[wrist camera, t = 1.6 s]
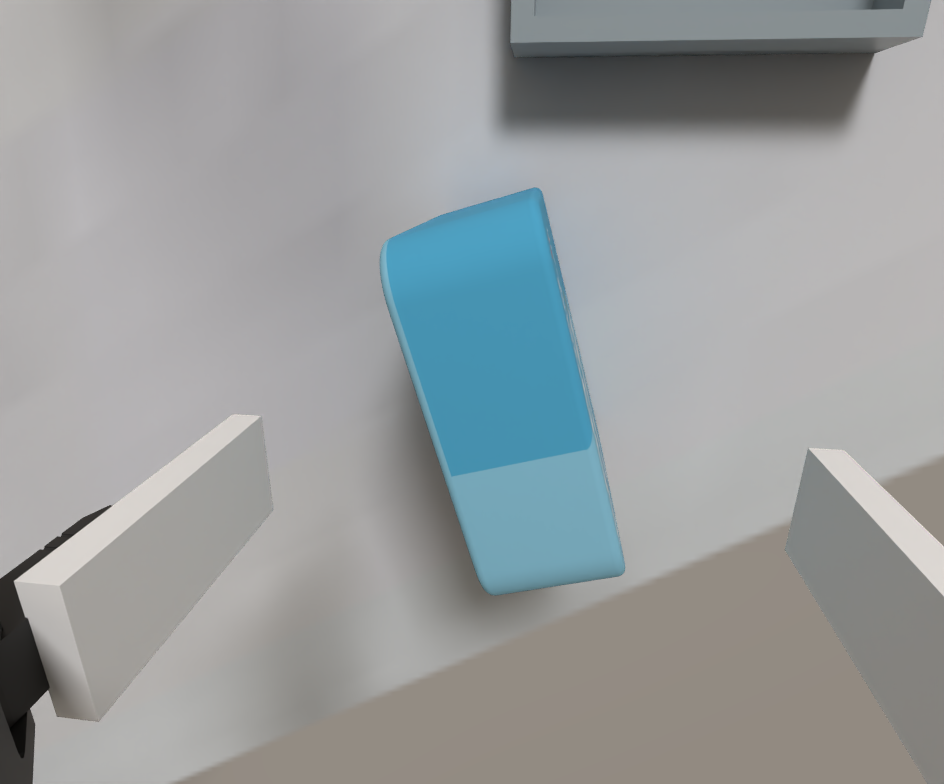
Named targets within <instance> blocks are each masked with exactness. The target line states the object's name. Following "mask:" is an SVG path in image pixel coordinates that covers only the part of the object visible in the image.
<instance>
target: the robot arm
mask: <svg viewBox="0 0 944 784" xmlns="http://www.w3.org/2000/svg"><path fill="white" fill-rule="evenodd" d="M272 511H273V503H272V495H271V487H270V479H269V471H268V463H267V456H266V448H265V440H264V432H263V424H262V416H255V415H238V414H233V415H231V416H230V417H229V418H227V419H226V420H225V421H223V422H222V423H221V424H219V425H218V426H217V427H215V428H214V429H213V430H212V431H210V432H209V433H208V434H206V435H205V436H204V437H202V438H201V439H200V440H198V441H197V442H196V443H194V444H193V445H192V446H191V447H189V448H188V449H187V450H185V451H184V452H183V453H181V454H180V455H179V456H177V457H176V458H175V459H173V460H172V461H171V462H170V463H168V464H167V465H166V466H164V467H163V468H162V469H160V470H159V471H158V472H156V473H155V474H154V475H152V476H151V477H150V478H149V479H147V480H146V481H145V482H143V483H142V484H141V485H139V486H138V487H137V488H135V489H134V490H133V491H131V492H130V493H129V494H128V495H126V496H125V497H124V498H122V499H121V500H120V501H118V502H117V503H116V504H114V505H113V506H111V505H109V506H107V507H105V508H103V509H101V510H99V511H97V512H94V513H92V514H90V515H88V516H86V517H84V518H82V519H81V520H79V521H78V522H77V523H75V524H74V525H72V526H71V527H70V528H68V529H67V530H66V531H64V532H63V533H62V536H61V537H56V538H55V539H54V540H52V541H51V542H49V543H48V544H47V545H45V546H44V547H45V548H44V550H39V551H37V552H36V553H35V554H33V555H32V556H31V557H29V558H28V559H26V560H25V561H24V562H22V563H21V564H20V565H18V566H17V567H16V568H14V569H13V570H12V571H10V572H9V573H8V574H6V575H5V576H3V577H2V578H1V579H0V784H33V762H34V740H35V722H34V719H33V716H32V713H31V710H30V708H31V707H32V706H33V705H34V704H35V703H36V702H37V701H38V700H39V699H40V697H41V696H42V695H43V694H44V693H45V692H46V691H47V690H49V693H50V696H51V700H52V703H53V706H54V709H55V712H56V715H57V717H65V718H72V719H80V720H88V721H96V722H99V721H100V720H101V719H102V717H103V716H104V715H105V714H106V712H107V711H108V710H109V709H110V708H111V706H112V705H113V704H114V703H115V702H116V700H117V699H118V698H119V697H120V695H121V694H122V693H123V692H124V691H125V689H126V688H127V687H128V686H129V685H130V683H131V682H132V681H133V680H134V679H135V677H136V676H137V675H138V674H139V672H140V671H141V670H142V669H143V668H144V666H145V665H146V664H147V663H148V662H149V660H150V659H151V658H152V657H153V655H154V654H155V653H156V652H157V651H158V649H159V648H160V647H161V646H162V645H163V643H164V642H165V641H166V640H167V638H168V637H169V636H170V635H171V634H172V632H173V631H174V630H175V629H176V628H177V626H178V625H179V624H180V623H181V621H182V620H183V619H184V618H185V617H186V615H187V614H188V613H189V612H190V611H191V609H192V608H193V607H194V606H195V604H196V603H197V602H198V601H199V600H200V598H201V597H202V596H203V595H204V594H205V592H206V591H207V590H208V589H209V587H210V586H211V585H212V584H213V583H214V581H215V580H216V579H217V578H218V577H219V575H220V574H221V573H222V572H223V571H224V569H225V568H226V567H227V566H228V564H229V563H230V562H231V561H232V560H233V558H234V557H235V556H236V555H237V554H238V552H239V551H240V550H241V549H242V547H243V546H244V545H245V544H246V543H247V541H248V540H249V539H250V538H251V537H252V535H253V534H254V533H255V532H256V530H257V529H258V528H259V527H260V526H261V524H262V523H263V522H264V521H265V520H266V518H267V517H268V516H269V515H270V513H271V512H272ZM785 551H786V552H787V554H788V556H789V557H790V559H791V560H792V562H793V564H794V566H795V567H796V569H797V570H798V572H799V574H800V575H801V577H802V579H803V580H804V582H805V584H806V585H807V587H808V589H809V590H810V592H811V593H812V595H813V597H814V598H815V600H816V602H817V603H818V605H819V607H820V608H821V610H822V612H823V613H824V615H825V617H826V618H827V620H828V621H829V623H830V625H831V626H832V628H833V630H834V631H835V633H836V635H837V636H838V638H839V640H840V641H841V643H842V644H843V646H844V648H845V649H846V651H847V653H848V654H849V656H850V658H851V659H852V661H853V663H854V664H855V666H856V667H857V669H858V671H859V672H860V674H861V676H862V677H863V679H864V681H865V682H866V684H867V685H868V687H869V689H870V690H871V692H872V694H873V695H874V697H875V699H876V700H877V702H878V703H879V705H880V707H881V708H882V710H883V712H884V713H885V715H886V717H887V718H888V720H889V722H890V723H891V725H892V727H893V728H894V730H895V732H896V733H897V735H898V736H899V738H900V740H901V741H902V743H903V745H904V746H905V748H906V750H907V751H908V753H909V755H910V756H911V758H912V759H913V761H914V763H915V764H916V766H917V768H918V769H919V771H920V773H921V774H922V776H923V778H924V779H925V781H926V782H927V784H944V546H943V545H942V544H941V543H939V542H938V541H937V540H936V539H935V538H934V537H933V536H932V535H931V534H930V533H929V532H928V531H927V530H926V529H925V528H924V527H923V526H922V525H921V524H920V523H919V522H918V521H917V520H916V519H914V517H913V516H912V515H911V514H909V513H908V512H907V511H906V510H905V509H904V508H903V507H902V506H901V505H900V504H899V503H898V502H897V501H896V500H895V499H894V498H893V497H892V496H891V495H890V494H889V493H888V492H887V491H886V490H884V489H883V487H882V486H881V485H879V484H878V483H877V482H876V481H875V480H874V479H873V478H872V477H871V476H870V475H869V474H868V473H867V472H866V471H865V470H864V469H863V468H862V467H861V466H860V465H859V464H858V463H857V462H856V461H855V460H854V459H853V458H852V457H850V456H849V455H848V454H847V453H846V452H845V451H844V450H833V449H816V448H808V451H807V455H806V459H805V464H804V468H803V473H802V477H801V481H800V486H799V490H798V495H797V499H796V503H795V508H794V512H793V517H792V521H791V525H790V530H789V534H788V539H787V543H786V548H785Z"/></svg>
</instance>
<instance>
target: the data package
mask: <svg viewBox="0 0 944 784" xmlns="http://www.w3.org/2000/svg"><path fill="white" fill-rule="evenodd" d="M380 275H381V282H382V288H383V292H384V296H385V300H386V304H387V307H388V310H389V313H390V316H391V319H392V322H393V325H394V328H395V331H396V334H397V337H398V340H399V343H400V346H401V349H402V352H403V355H404V358H405V361H406V364H407V367H408V370H409V373H410V376H411V379H412V382H413V385H414V388H415V391H416V394H417V397H418V400H419V403H420V406H421V409H422V412H423V415H424V418H425V421H426V424H427V427H428V430H429V433H430V436H431V439H432V442H433V445H434V448H435V451H436V454H437V457H438V460H439V463H440V466H441V469H442V472H443V475H444V478H445V481H446V484H447V487H448V490H449V493H450V496H451V499H452V502H453V505H454V508H455V511H456V514H457V517H458V520H459V523H460V526H461V529H462V532H463V535H464V538H465V541H466V544H467V547H468V550H469V553H470V556H471V559H472V562H473V565H474V568H475V571H476V574H477V577H478V579H479V582H480V584H481V586H482V587H483V589H484V590H485V591H486V592H487V593H489V594H490V595H502V594H509V593H515V592H521V591H528V590H534V589H541V588H547V587H553V586H560V585H566V584H573V583H579V582H585V581H592V580H598V579H605V578H611V577H617V576H621V575H622V574H623V573H624V571H625V562H624V557H623V552H622V547H621V542H620V537H619V532H618V527H617V522H616V517H615V512H614V508H613V503H612V498H611V493H610V488H609V483H608V478H607V473H606V468H605V463H604V458H603V453H602V448H601V443H600V438H599V434H598V429H597V425H596V420H595V416H594V411H593V407H592V403H591V399H590V394H589V390H588V386H587V381H586V377H585V373H584V369H583V364H582V360H581V356H580V351H579V347H578V343H577V339H576V334H575V330H574V326H573V321H572V317H571V313H570V309H569V304H568V300H567V296H566V291H565V287H564V283H563V279H562V274H561V270H560V266H559V261H558V257H557V253H556V249H555V244H554V240H553V236H552V231H551V227H550V223H549V219H548V214H547V210H546V206H545V202H544V198H543V194H542V191H541V190H540V189H539V188H531V189H528V190H524V191H521V192H518V193H514V194H511V195H508V196H504V197H501V198H497V199H494V200H491V201H487V202H484V203H480V204H477V205H474V206H470V207H467V208H463V209H460V210H457V211H453V212H450V213H446V214H443V215H440V216H438V217H436V218H433V219H431V220H429V221H427V222H425V223H423V224H420V225H418V226H416V227H414V228H412V229H409V230H407V231H405V232H403V233H401V234H399V235H396V236H394V237H392V238H390V239H388V240H387V241H386V242H385V243H384V245H383V247H382V249H381V254H380Z"/></svg>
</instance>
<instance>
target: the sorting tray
mask: <svg viewBox="0 0 944 784" xmlns="http://www.w3.org/2000/svg"><path fill="white" fill-rule="evenodd" d="M930 3H931V0H511V35H510V44H511V47H512V51H513V54H514V57H586V56H667V55H749V54H830V53H877V52H880V51H883V50H885V49H888V48H891V47H894V46H897V45H900V44H903V43H906V42H909V41H911V40H914V39H917V38H920V37H923V33H924V28H925V24H926V20H927V16H928V12H929V8H930Z"/></svg>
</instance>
